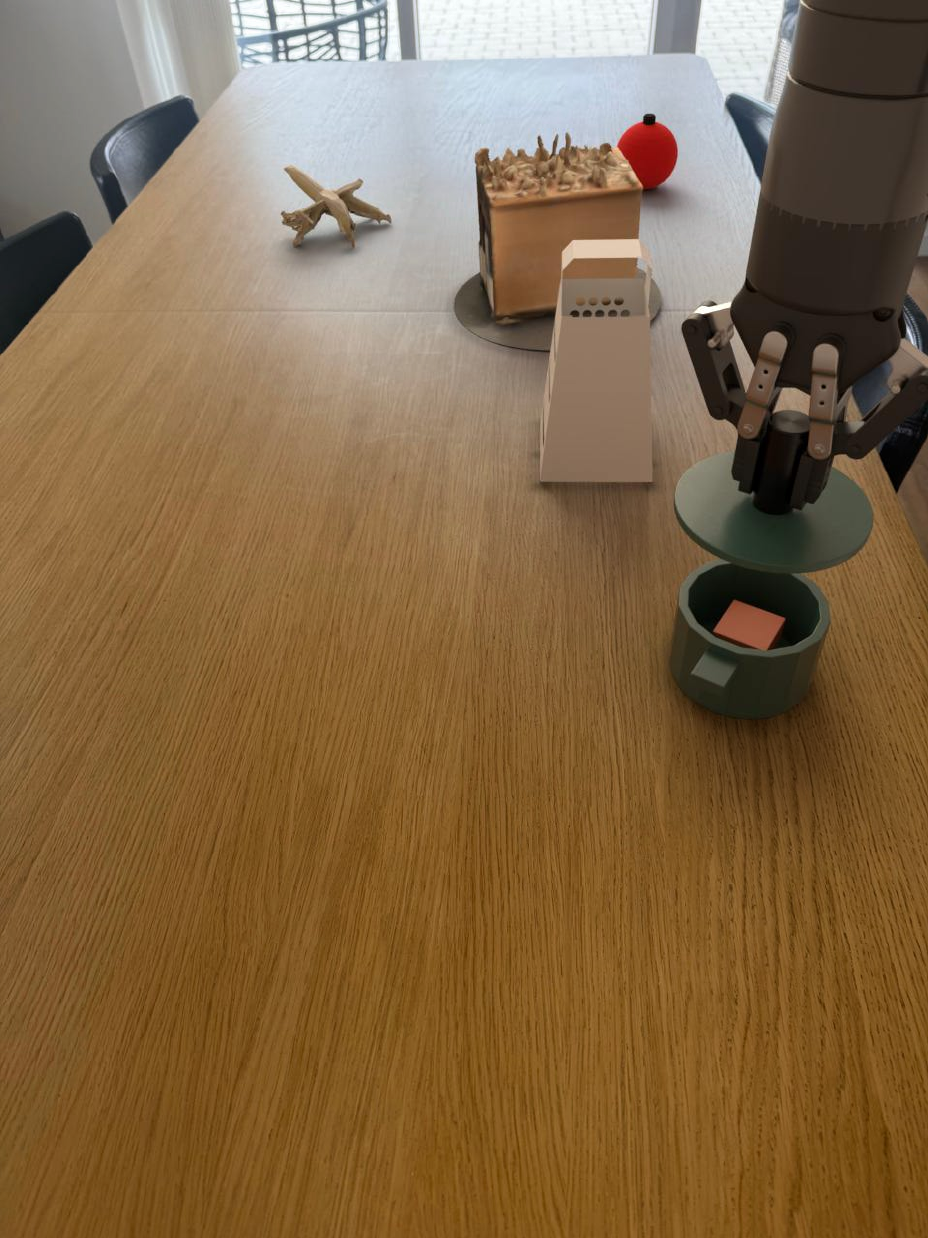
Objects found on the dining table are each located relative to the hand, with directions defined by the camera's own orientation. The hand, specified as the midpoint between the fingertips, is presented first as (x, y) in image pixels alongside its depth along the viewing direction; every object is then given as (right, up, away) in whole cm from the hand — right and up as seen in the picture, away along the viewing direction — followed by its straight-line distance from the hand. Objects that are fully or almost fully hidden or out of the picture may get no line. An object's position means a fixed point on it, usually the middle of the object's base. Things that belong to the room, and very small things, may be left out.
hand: (775, 492), depth 56 cm
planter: (-7, +31, +62) cm, 70 cm away
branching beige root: (-37, +47, +80) cm, 100 cm away
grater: (-5, +9, +39) cm, 40 cm away
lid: (0, -1, +1) cm, 1 cm away
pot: (+3, -11, +17) cm, 21 cm away
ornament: (+9, +57, +88) cm, 105 cm away
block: (+3, -11, +17) cm, 20 cm away
